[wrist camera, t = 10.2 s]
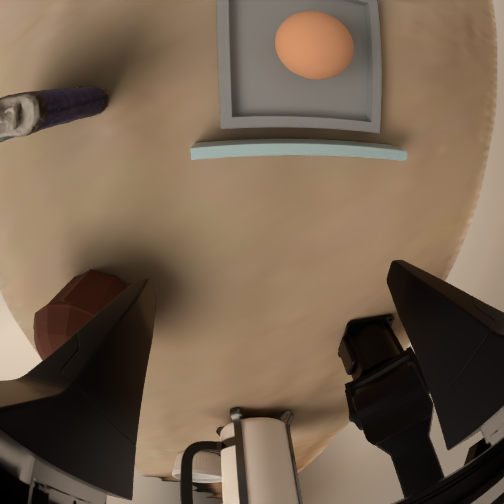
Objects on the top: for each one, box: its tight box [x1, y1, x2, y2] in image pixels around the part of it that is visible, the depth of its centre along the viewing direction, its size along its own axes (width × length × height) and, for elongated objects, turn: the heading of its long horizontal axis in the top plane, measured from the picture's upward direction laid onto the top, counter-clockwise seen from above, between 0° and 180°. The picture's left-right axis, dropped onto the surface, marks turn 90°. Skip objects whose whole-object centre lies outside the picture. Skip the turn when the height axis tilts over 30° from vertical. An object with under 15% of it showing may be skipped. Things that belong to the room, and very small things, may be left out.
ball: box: [275, 11, 354, 80], centre depth 13 cm, size 5×5×5 cm
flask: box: [0, 86, 109, 142], centre depth 11 cm, size 9×3×11 cm, turn 87°
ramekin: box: [172, 451, 222, 483], centre depth 51 cm, size 13×13×7 cm
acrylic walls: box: [190, 139, 408, 161], centre depth 15 cm, size 16×16×2 cm
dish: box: [217, 0, 382, 133], centre depth 15 cm, size 12×12×1 cm
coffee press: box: [180, 408, 303, 504], centre depth 30 cm, size 17×16×30 cm
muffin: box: [34, 270, 128, 360], centre depth 22 cm, size 12×11×10 cm
